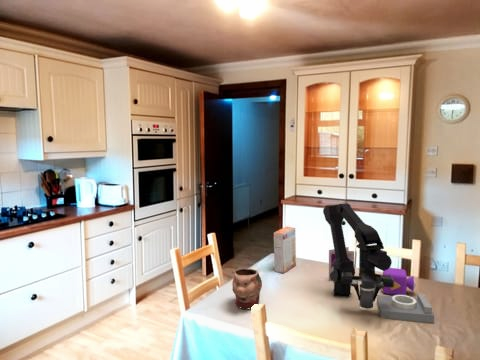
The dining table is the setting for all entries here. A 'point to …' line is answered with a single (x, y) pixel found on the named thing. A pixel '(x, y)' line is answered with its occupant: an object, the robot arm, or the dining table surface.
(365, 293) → the lens
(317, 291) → the dining table surface
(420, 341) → the dining table surface
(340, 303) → the dining table surface
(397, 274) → the toy camera
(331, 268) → the purple printed box
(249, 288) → the decorative planter
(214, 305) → the dining table surface
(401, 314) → the mount
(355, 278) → the robot arm
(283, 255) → the cracker box
